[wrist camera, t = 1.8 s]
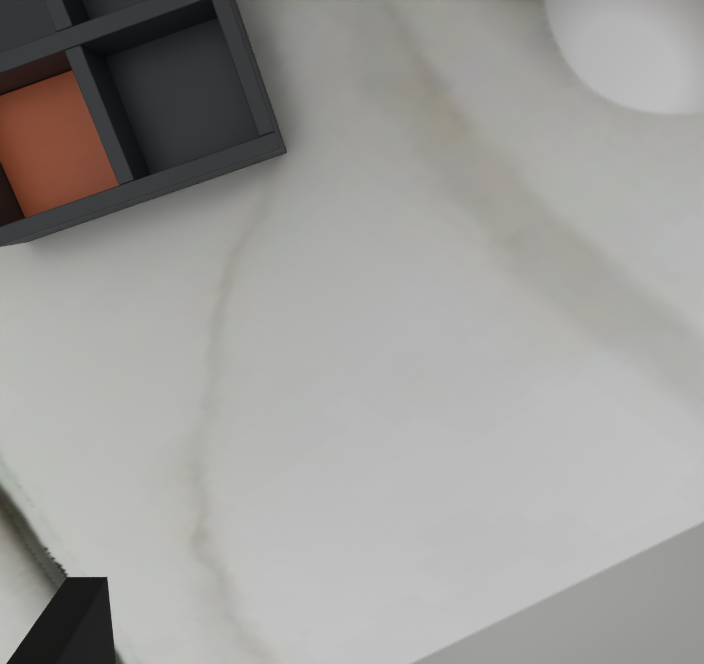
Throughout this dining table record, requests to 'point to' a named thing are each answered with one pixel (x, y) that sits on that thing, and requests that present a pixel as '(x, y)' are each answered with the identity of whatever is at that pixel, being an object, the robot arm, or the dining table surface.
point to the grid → (121, 106)
